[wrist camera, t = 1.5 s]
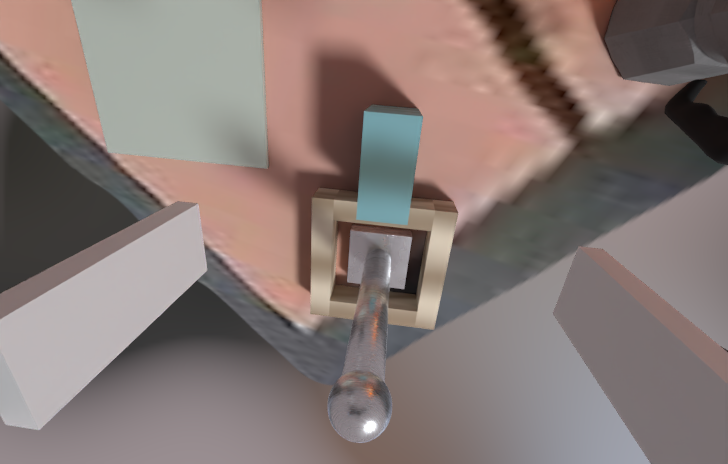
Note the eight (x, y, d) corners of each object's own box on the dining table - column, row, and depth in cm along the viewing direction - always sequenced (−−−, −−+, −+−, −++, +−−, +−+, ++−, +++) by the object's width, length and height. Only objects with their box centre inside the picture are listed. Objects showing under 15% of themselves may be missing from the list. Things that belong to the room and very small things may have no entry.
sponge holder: (321, 99, 29) (299, 105, 23) (471, 113, 29) (490, 122, 22) (316, 297, 38) (300, 340, 32) (431, 311, 37) (437, 358, 31)
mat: (48, -119, 25) (41, -123, 25) (256, -108, 24) (254, -112, 24) (112, 151, 33) (108, 152, 33) (268, 167, 32) (266, 168, 32)
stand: (352, 224, 34) (298, 385, 16) (411, 231, 34) (423, 403, 16) (349, 274, 36) (298, 463, 18) (404, 281, 36) (407, 480, 18)
